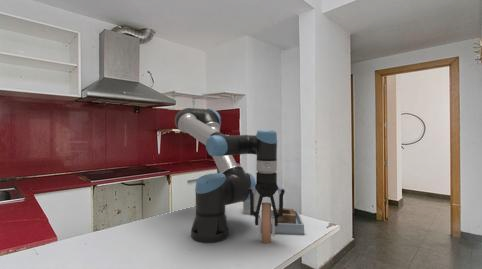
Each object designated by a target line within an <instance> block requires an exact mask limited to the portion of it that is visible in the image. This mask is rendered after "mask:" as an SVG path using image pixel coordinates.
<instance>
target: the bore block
mask: <svg viewBox="0 0 482 269" xmlns="http://www.w3.org/2000/svg"><path fill="white" fill-rule="evenodd" d="M276 210H277V212H279V207H278V208H277V207H276ZM294 211H295V209H294V208H284V207H283V216H280V217H278V223H287V224H296V214H295V212H294ZM273 216H274V212H273Z"/></svg>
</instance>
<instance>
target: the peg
mask: <svg viewBox="0 0 482 269" xmlns="http://www.w3.org/2000/svg"><path fill="white" fill-rule="evenodd" d="M261 210H262V233H261V242H262V243H263V244H270V243H272V234H271V210H272V203H271V202H268V201H267V202H262V203H261Z"/></svg>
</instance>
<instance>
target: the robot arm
mask: <svg viewBox="0 0 482 269" xmlns="http://www.w3.org/2000/svg"><path fill="white" fill-rule="evenodd" d="M221 119H222V117H221V115H220V114H219V112H218V111H216V110H215V109H210V108H196V107H195V108H194V107H186V108H182V109H181V110H179V111H178V112H177V114H176V115H175V118H174V124H175V127H176V128H177V129H178V130H179V131H180V132H181V133H184V134H189V135H190V136H191V137H193V138H194V139H195V140H197V141H198V142H200V143H201V144H203V145H205V150H206V151H207V154H208V156H209V155H210V156H211V157H212V159H213V160H214V163H215V164H216V167H217V170H218V172H215V173H207V174H204V175H201V176H200V177H198V178H197V180H196V181H195V189H194V190H195V191H194V192H195V216H194V220H193V222H192V226H191V231H190V234H191V235H190V237H191V238H192V240H195V241H197V242H199V243H200V242H201V243H217V242H220V241H224V240H226V239H227V238H229V236H230V225H229V223H228V220H227V216H226V206H228V205H232V204H237V203H243V202H244V201H246V200H249V199H250V216H253V217H254V223H255V224H254V225H255V226H257V230H258V231H257V236H261V214H260V212H261V208H262V203H263V199H264V198H269V199H270V203H271V209H272V210H273V212H274V216H272V234H271V237H275V235H276V234H275V226H277V225H278V217H280V216H283V208H284V195H285V192H286V191H285V188H281V187H279V186H278V180H277V178H278V175H277V170H278V161H277V160H278V159H277V158H278V157H277V156H278V154H277V153H278V150H277V149H278V135H277V132H276V131H275V130H274V129H273V130H270V129H269V130H268V129H267V130H266V129H265V130H262V129H261V130H257V131H256V135H254V134H253V135H251V134H250V135H249V134H240V135H239V134H237V135H236V134H235V135H232V134H231V135H226V134H224V133H222V132H221V131H220V129H221V126H222V121H221ZM235 155H236V156H238V155H239V156H240V155H256V173H255V174H256V179H255V177H254V176H253V174H252V173H249V172H246V171H245V170H244V168H243V167H242V166H241V165H238V163H237V162H236V159H235V157H234V156H235ZM256 190H257V192H258V193H259V200H258V204H257V208H256V212H255V211H254V194H255V191H256ZM277 192H278V195H279V196H278V200H279V201H278V208H279V212H277V210H276V208H277V206H276V202H275V199H274V195H275V193H277Z"/></svg>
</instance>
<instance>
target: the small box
mask: <svg viewBox="0 0 482 269" xmlns="http://www.w3.org/2000/svg"><path fill="white" fill-rule="evenodd" d="M259 196H260V195H259V193H258V192H257V190H256V191H255V194H254V211H255V212H256V208H257V204H258V200H259ZM242 203H243V204H242V206H243V207H242V209H243V210H242V211H243V212H242V213H243V214H244V215H250V199H249V200H246V201H244V202H242ZM250 216H251V215H250Z"/></svg>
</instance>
